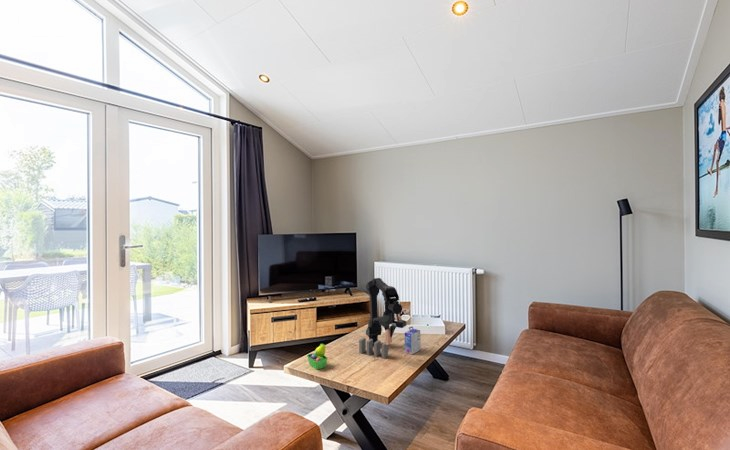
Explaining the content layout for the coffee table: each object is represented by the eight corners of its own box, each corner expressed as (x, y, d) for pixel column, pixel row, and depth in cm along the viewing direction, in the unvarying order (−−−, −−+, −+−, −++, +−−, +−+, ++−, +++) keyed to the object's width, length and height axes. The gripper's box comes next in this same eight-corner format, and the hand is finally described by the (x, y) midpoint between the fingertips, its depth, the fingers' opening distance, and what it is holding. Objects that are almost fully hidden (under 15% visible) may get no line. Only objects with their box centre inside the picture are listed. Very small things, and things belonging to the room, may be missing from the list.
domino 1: (363, 350, 207) (363, 337, 207) (365, 350, 206) (365, 337, 206) (359, 353, 203) (359, 340, 203) (361, 353, 202) (361, 340, 202)
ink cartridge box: (413, 347, 211) (413, 324, 211) (421, 350, 207) (421, 326, 207) (404, 352, 204) (404, 328, 204) (411, 354, 200) (411, 330, 200)
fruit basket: (306, 364, 188) (306, 343, 188) (320, 360, 193) (320, 340, 193) (315, 371, 179) (315, 350, 179) (330, 367, 184) (330, 346, 184)
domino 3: (377, 353, 202) (377, 340, 202) (380, 354, 201) (380, 340, 201) (374, 356, 198) (373, 342, 198) (376, 357, 197) (376, 343, 197)
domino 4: (385, 355, 200) (385, 341, 199) (387, 355, 199) (387, 342, 199) (381, 358, 195) (381, 344, 195) (384, 358, 194) (384, 344, 194)
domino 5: (389, 341, 195) (389, 327, 195) (392, 342, 194) (391, 328, 194) (385, 344, 191) (385, 330, 191) (388, 344, 190) (388, 330, 190)
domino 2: (370, 352, 205) (370, 338, 204) (372, 352, 204) (372, 339, 204) (366, 354, 200) (366, 341, 200) (368, 355, 199) (368, 341, 199)
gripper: (368, 310, 191) (368, 338, 191) (398, 315, 182) (398, 344, 182) (377, 306, 201) (377, 332, 201) (406, 310, 191) (406, 338, 191)
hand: (389, 336), depth 194 cm, fingers closed on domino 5, 2 cm apart
